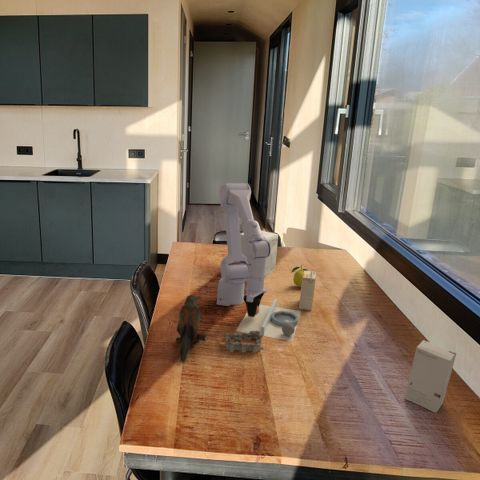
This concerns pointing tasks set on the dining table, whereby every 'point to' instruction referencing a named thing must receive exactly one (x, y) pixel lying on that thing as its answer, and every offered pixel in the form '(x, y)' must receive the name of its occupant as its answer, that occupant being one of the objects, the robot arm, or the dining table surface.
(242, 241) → the supplement box
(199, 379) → the dining table surface
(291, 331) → the grey ball
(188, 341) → the bird figurine
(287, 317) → the dish
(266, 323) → the fence
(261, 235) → the robot arm
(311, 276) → the supplement box
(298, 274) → the lemon
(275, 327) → the board
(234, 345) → the egg carton
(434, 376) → the skincare box
